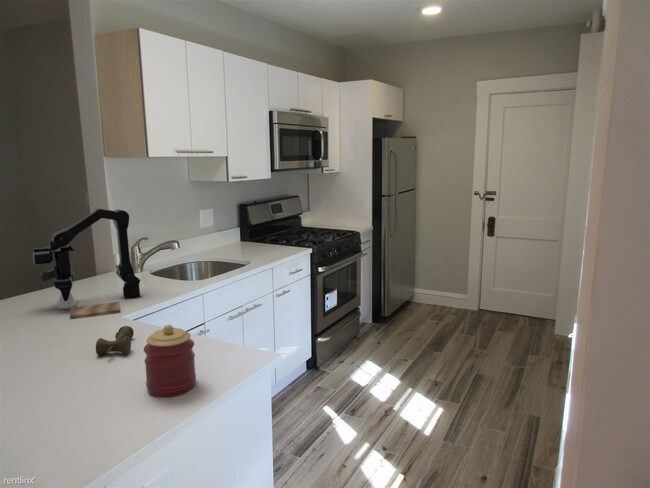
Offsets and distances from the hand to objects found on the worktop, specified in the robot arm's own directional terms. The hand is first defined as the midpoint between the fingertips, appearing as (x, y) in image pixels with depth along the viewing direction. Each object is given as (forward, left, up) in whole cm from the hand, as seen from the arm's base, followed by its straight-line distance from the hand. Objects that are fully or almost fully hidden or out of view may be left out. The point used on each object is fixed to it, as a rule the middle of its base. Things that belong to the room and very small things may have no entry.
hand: (66, 298), depth 197 cm
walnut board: (-11, +12, -4) cm, 17 cm away
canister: (-30, +93, -4) cm, 98 cm away
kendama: (-18, +59, -4) cm, 62 cm away
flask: (0, 0, -4) cm, 4 cm away
